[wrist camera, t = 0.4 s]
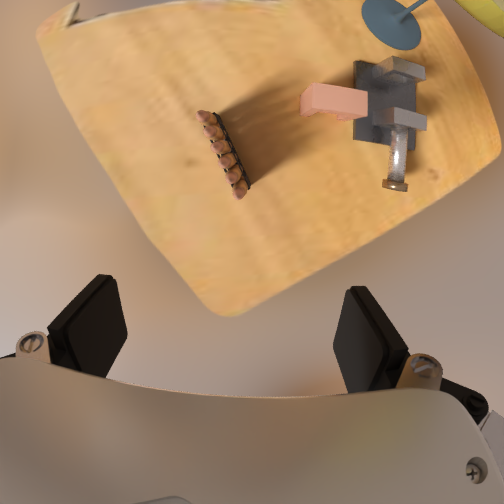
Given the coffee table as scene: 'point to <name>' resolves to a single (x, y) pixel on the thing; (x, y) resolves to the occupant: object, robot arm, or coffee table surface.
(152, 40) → the coffee table surface
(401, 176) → the shaft
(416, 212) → the coffee table surface
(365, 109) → the block
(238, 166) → the ammunition clip
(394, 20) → the cocktail glass
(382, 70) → the bracket
